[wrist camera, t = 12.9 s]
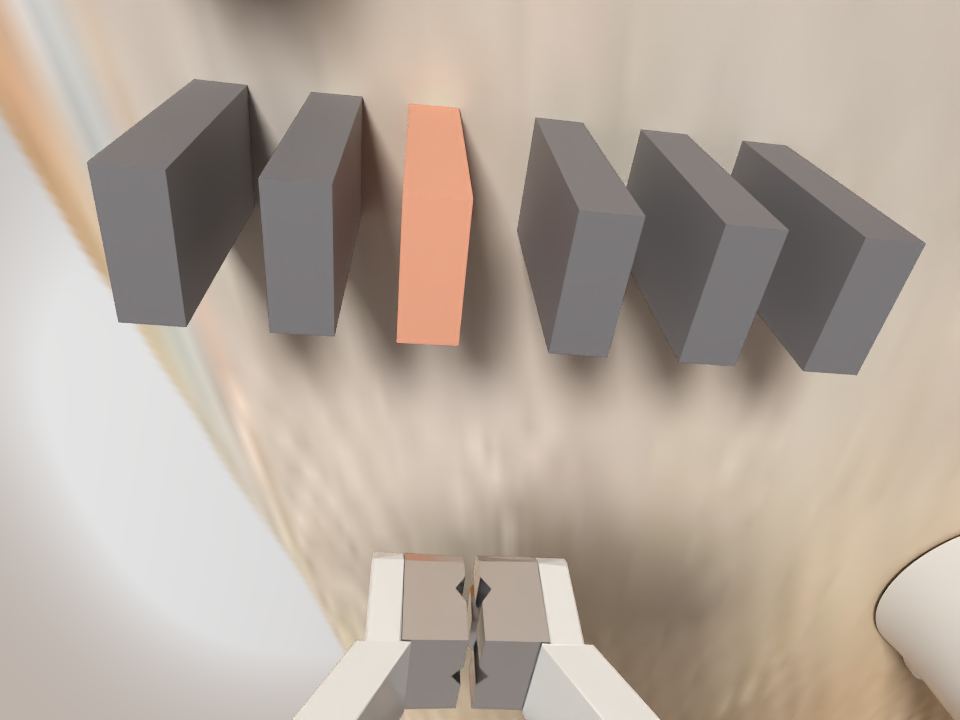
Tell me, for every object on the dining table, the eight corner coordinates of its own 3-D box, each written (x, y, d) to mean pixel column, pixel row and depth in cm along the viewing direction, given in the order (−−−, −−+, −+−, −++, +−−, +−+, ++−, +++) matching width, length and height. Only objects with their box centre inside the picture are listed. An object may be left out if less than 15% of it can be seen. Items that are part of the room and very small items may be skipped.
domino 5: (686, 134, 29) (789, 229, 21) (655, 243, 32) (734, 366, 23) (640, 129, 29) (725, 224, 20) (613, 239, 31) (678, 362, 23)
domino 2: (362, 96, 27) (332, 184, 19) (361, 215, 30) (334, 336, 22) (311, 91, 27) (257, 178, 19) (314, 211, 30) (269, 332, 22)
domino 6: (786, 145, 29) (926, 243, 21) (747, 251, 32) (856, 374, 24) (742, 140, 29) (866, 237, 21) (706, 248, 32) (803, 370, 24)
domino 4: (582, 122, 28) (645, 216, 20) (560, 234, 31) (607, 357, 23) (535, 117, 28) (579, 210, 20) (517, 230, 31) (548, 353, 23)
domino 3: (459, 108, 28) (472, 198, 19) (449, 223, 31) (458, 345, 22) (409, 103, 28) (402, 192, 19) (404, 220, 30) (396, 342, 22)
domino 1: (247, 85, 27) (164, 169, 19) (254, 206, 30) (186, 327, 21) (193, 79, 27) (87, 162, 18) (206, 202, 29) (118, 322, 21)
